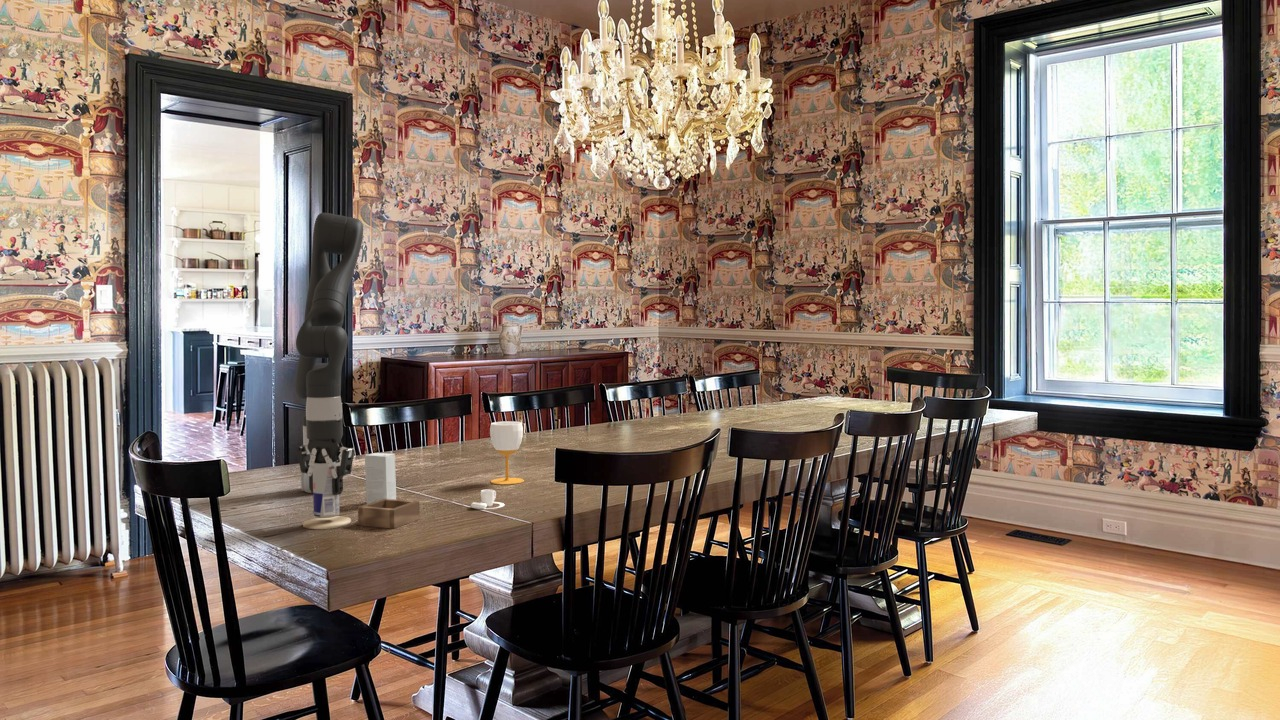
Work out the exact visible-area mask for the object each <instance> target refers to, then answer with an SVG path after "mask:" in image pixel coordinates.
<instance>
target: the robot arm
mask: <svg viewBox="0 0 1280 720" xmlns="http://www.w3.org/2000/svg"><path fill="white" fill-rule="evenodd" d="M312 232H313V233H312V245H311V246H312V248H311V249H312V250H311V263H310V276H309V282H308V290H307V296H306V302H305V308H304V309H305V310H304V321H303V323H302V325H301V326H300V328H299V329H298V332H297V335H296V339H295V347H296V350H297V352H298V354H299V357H298V362H297V366H296V371H295V378H294V390H295V395H297V397H298V398H300V399H301V400H306V402H305V413H304V414H303V416H302V437H303V438H302V439H303V440H302V441H303V443H302V444H303V445H299V446H297V447H296V452H297V459H298V463H299V468H300V479H301V480H300V484H301V485H300V487H301V492H306V493H308V494H313V468H312V466H313V464H314V463H315V462H317V463H327V466H328V468H329V469H331V473H332V475H333V478H332V491H333V495H339V496H340V495H341V494H342V492H343V491H344V477H345V476H347V475H351V473H352V467H353V461H354V456H355V449H354V448H353V447H346V446H344V445H343V443H342V437H343V436H344V431H343V429H344V428H343V426H344V425H343V403H342V397H341V395H342V393H341V391H342V376H341V374H342V373H341V372H342V368H343V363H344V360H345V359H344V358H345V356H346V352H347V349H348V344H349V337H348V333H347V332H346V330H345V329H344V328H343V326H344V320H345V319H344V318H345V312H346V305H347V298H348V297H347V296H348V291H349V287H350V285H351V284H350V283H351V281H352V279H353V278H352V277H353V275H354V272H355V269H356V266H357V262H358V259H359V256H360V251H361V249H362V245H363V243H362V242H363V237H364V225H363V221H362V220H360V219H358V218H356V217H352V216H345V215H340V214H335V213H329V212H321V213H319V214H318V215H317V216H316V217H315V222H314V225H313V231H312ZM327 253H329V254H334V255H340V256H341V255H342V256H343V257H342V258H341V260H340V261H339V262H338V263H337V264H336V265H335V266H334V267H333V268H332V269H331V268H330V264H329V261H328V257H327ZM318 359H329V361H328V362H323V363H322V362H320V363H319V362H317V360H318ZM316 362H317V363H316ZM335 461H337V463H333V462H335ZM313 462H314V463H313ZM336 467H337V469H336ZM337 471H338V472H337Z"/></svg>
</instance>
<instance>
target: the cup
mask: <svg viewBox="0 0 1280 720" xmlns="http://www.w3.org/2000/svg"><path fill="white" fill-rule="evenodd" d="M489 426H490V428H489V435H490V439H491V443H492V446H493V447H494V450H496V451H497V452H498V453H499V454H500V455H503V456H504V457H505V477H500V478H494V479H492V480H490V483H491V484H493V485H499V486H503V485H504V486H509V485H510V486H511V485H518V484H522V483H524V481H525V480H524V479H523V478H519V477H509V476H510V475H509V474H510V473H509V471H510V470H509V468H510V467H509V464H510V462H509V457H510V456H511V455H513V454H515V453H516V452H517V451H518V449H519V448H520V446H521V443H522V440H523V436H524V435H523V434H524V428H523V422H521V421H516V420H515V421H513V420H510V421H509V420H508V421H507V420H505V421H495V422H491V423H490V425H489Z"/></svg>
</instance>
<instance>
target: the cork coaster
mask: <svg viewBox="0 0 1280 720" xmlns="http://www.w3.org/2000/svg"><path fill="white" fill-rule="evenodd" d="M351 523H352V519H351V517H347V516H343V515H341V516H340V515H338V516H335V517H331V518H317V517H314V518H310V519H306V520H304V521H303V522H302V527H303V528H305V529H309V530H332V529H339V528H343V527H346V526H349V525H351Z"/></svg>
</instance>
